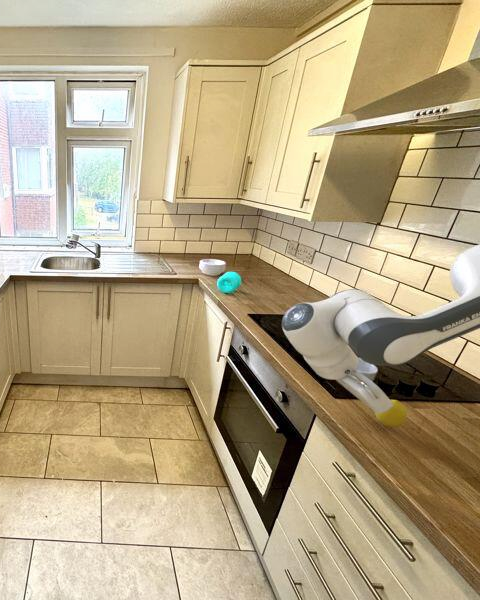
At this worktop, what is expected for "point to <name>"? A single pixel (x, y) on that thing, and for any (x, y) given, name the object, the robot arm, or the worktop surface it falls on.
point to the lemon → (393, 415)
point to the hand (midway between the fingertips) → (359, 393)
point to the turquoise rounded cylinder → (225, 285)
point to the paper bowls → (212, 266)
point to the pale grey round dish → (367, 369)
